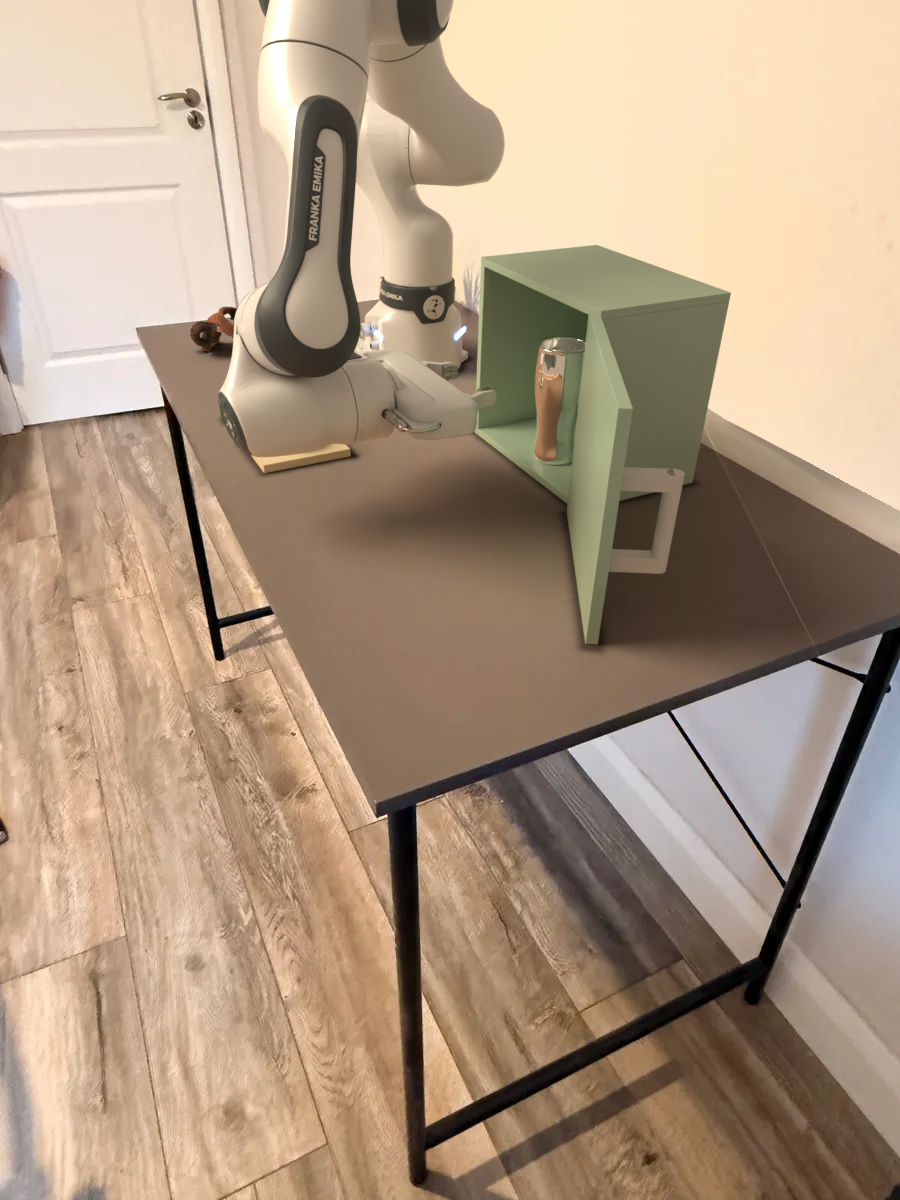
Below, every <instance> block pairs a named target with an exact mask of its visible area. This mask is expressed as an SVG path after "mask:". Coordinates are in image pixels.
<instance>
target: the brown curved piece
mask: <svg viewBox="0 0 900 1200" xmlns="http://www.w3.org/2000/svg"><path fill="white" fill-rule="evenodd" d="M237 308H238V307H234V306H222V307H220V308H219V309H218V312H216V313H212V314H211V315H210V316H209V317H208V318H207V320H206V321H203V320H199V321H196V322H195V323H194V324H192V326H191V327H190V330H189V333H190V335H189V336H190V339H191V341H192V342H193V343H194V344H195V345H197V346H198V347H201V352H202V353H205V352H209V353H211V352H212V346H213V344H216V345H217V344H220V340H221V336H222V334H223V333H224V334H225V335H227V336H229V337H232V338H233V339H234V323H232V322H231V321H234V317H235V313H236V310H237ZM226 315H229V316H230V319H229V320H228V319H227V318H226ZM230 320H231V321H230ZM218 327H219V329H218ZM218 330H219V331H218ZM201 333H202V334H201Z"/></svg>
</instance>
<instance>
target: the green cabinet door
mask: <svg viewBox="0 0 900 1200" xmlns="http://www.w3.org/2000/svg"><path fill="white" fill-rule="evenodd" d="M632 413H633V407H632V404H631V401H630V399H629V396H628V393H627V390H626V387H625V384H624V381H623V378H622V375H621V373H620V370H619V367H618V364H617V361H616V358H615V355H614V352H613V349H612V347H611V344H610V341H609V338H608V335H607V332H606V329H605V326H604V323H603V321H602V318H601V315H600V314H594V313H589V317H588V326H587V335H586V344H585V353H584V362H583V371H582V380H581V389H580V398H579V407H578V416H577V425H576V434H575V443H574V452H573V461H572V470H571V479H570V488H569V497H568V504H567V506H566V507H567V508H566V517H567V523H568V531H569V537H570V546H571V552H572V559H573V566H574V574H575V580H576V588H577V589H576V590H577V595H578V603H579V610H580V616H581V624H582V630H583V631H582V632H583V638H584V644H585V645H599V638H600V633H601V632H600V631H601V626H602V618H603V611H604V605H605V599H606V593H607V585H608V579H609V578H608V577H609V574H610V573H630V574H631V573H632V574H654V575H655V574H656V575H662V574H664V573H666V571H667V566H668V562H669V556H670V553H671V552H670V551H671V547H672V542H673V537H674V532H675V525H676V521H677V516H678V510H679V505H680V500H681V496H682V490H683V486H684V485H683V480H684V475H685V474H684V472H683V471H681V470H679V469H664V468H637V467H624V466H625V460H626V453H627V446H628V440H629V433H630V426H631V420H632ZM621 491H639V492H653V493H661V497H660V502H659V507H658V512H657V519H656V524H655V529H654V535H653V541H652V546H651V550H647V549H646V550H644V549H624V548H623V549H621V548H613V544H614V539H615V532H616V526H617V525H616V524H617V519H618V513H619V505H620V501H619V500H620V493H621Z"/></svg>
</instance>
